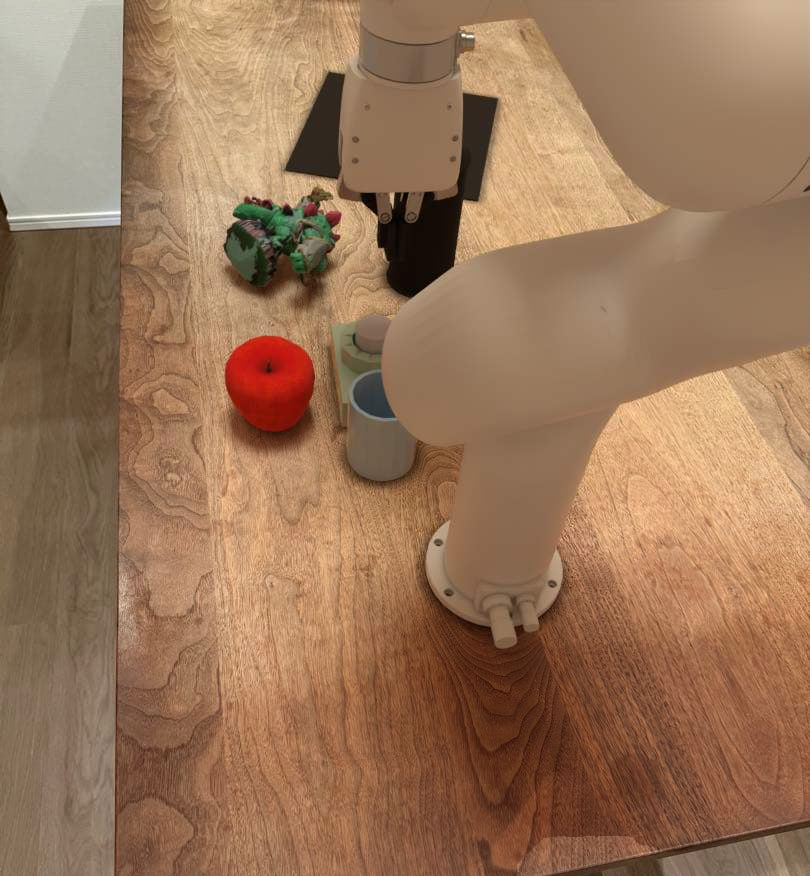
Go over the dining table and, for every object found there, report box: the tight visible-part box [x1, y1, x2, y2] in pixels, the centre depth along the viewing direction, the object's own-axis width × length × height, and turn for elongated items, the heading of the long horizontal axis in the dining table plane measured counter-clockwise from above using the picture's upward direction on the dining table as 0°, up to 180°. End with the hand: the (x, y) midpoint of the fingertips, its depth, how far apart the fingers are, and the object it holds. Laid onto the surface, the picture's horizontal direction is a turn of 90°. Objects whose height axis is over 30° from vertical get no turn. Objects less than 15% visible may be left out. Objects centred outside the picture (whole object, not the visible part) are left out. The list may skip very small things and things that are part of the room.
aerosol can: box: [386, 143, 472, 298], centre depth 98 cm, size 8×8×20 cm
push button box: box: [330, 318, 382, 428], centre depth 92 cm, size 12×8×6 cm, turn 8°
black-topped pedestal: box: [284, 71, 499, 201], centre depth 120 cm, size 28×26×13 cm
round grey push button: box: [355, 313, 392, 355], centre depth 90 cm, size 4×4×2 cm
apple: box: [224, 334, 316, 433], centre depth 87 cm, size 9×9×8 cm
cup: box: [346, 369, 418, 482], centre depth 85 cm, size 7×7×8 cm
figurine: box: [222, 186, 343, 288], centre depth 102 cm, size 12×13×15 cm
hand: (393, 252), depth 82 cm, fingers closed
